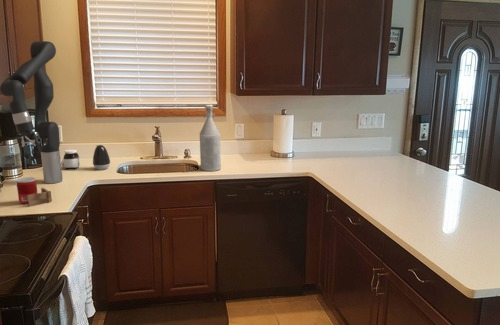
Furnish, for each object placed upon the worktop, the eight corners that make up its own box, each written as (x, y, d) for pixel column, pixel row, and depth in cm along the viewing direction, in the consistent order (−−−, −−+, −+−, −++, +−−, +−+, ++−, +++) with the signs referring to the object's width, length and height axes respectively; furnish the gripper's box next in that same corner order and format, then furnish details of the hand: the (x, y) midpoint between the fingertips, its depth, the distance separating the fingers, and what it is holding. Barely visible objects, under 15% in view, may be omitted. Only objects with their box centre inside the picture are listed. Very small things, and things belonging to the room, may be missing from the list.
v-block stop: (42, 197, 200) (41, 187, 199) (57, 197, 200) (56, 187, 199) (27, 206, 187) (26, 195, 186) (43, 206, 187) (42, 195, 186)
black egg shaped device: (106, 166, 265) (104, 142, 261) (113, 169, 257) (111, 145, 254) (90, 168, 258) (88, 144, 255) (96, 171, 251) (94, 147, 247)
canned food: (41, 201, 194) (38, 179, 192) (23, 205, 188) (20, 182, 186) (34, 198, 199) (31, 176, 196) (16, 202, 193) (13, 179, 191)
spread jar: (74, 170, 254) (73, 151, 252) (56, 170, 254) (54, 151, 252) (83, 166, 266) (81, 148, 263) (65, 166, 266) (63, 148, 263)
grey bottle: (218, 164, 268) (217, 103, 259) (222, 171, 251) (221, 105, 243) (198, 165, 265) (196, 103, 256) (202, 172, 248) (200, 106, 240)
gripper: (39, 118, 201) (49, 150, 205) (20, 121, 208) (31, 151, 212) (25, 122, 195) (36, 154, 199) (7, 124, 201) (17, 156, 206)
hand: (33, 153), depth 206 cm, fingers open, 8 cm apart
